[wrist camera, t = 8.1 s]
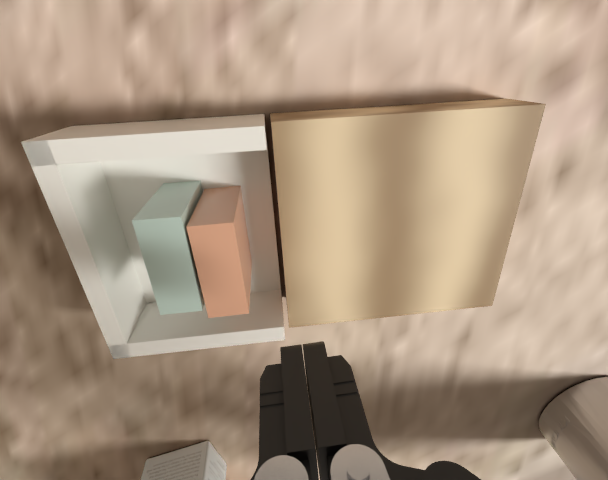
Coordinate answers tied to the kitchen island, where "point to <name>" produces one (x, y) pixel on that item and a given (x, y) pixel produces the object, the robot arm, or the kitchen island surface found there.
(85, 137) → the box
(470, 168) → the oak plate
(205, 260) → the terracotta tile
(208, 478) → the skincare box
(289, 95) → the kitchen island surface
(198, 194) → the sage tile
